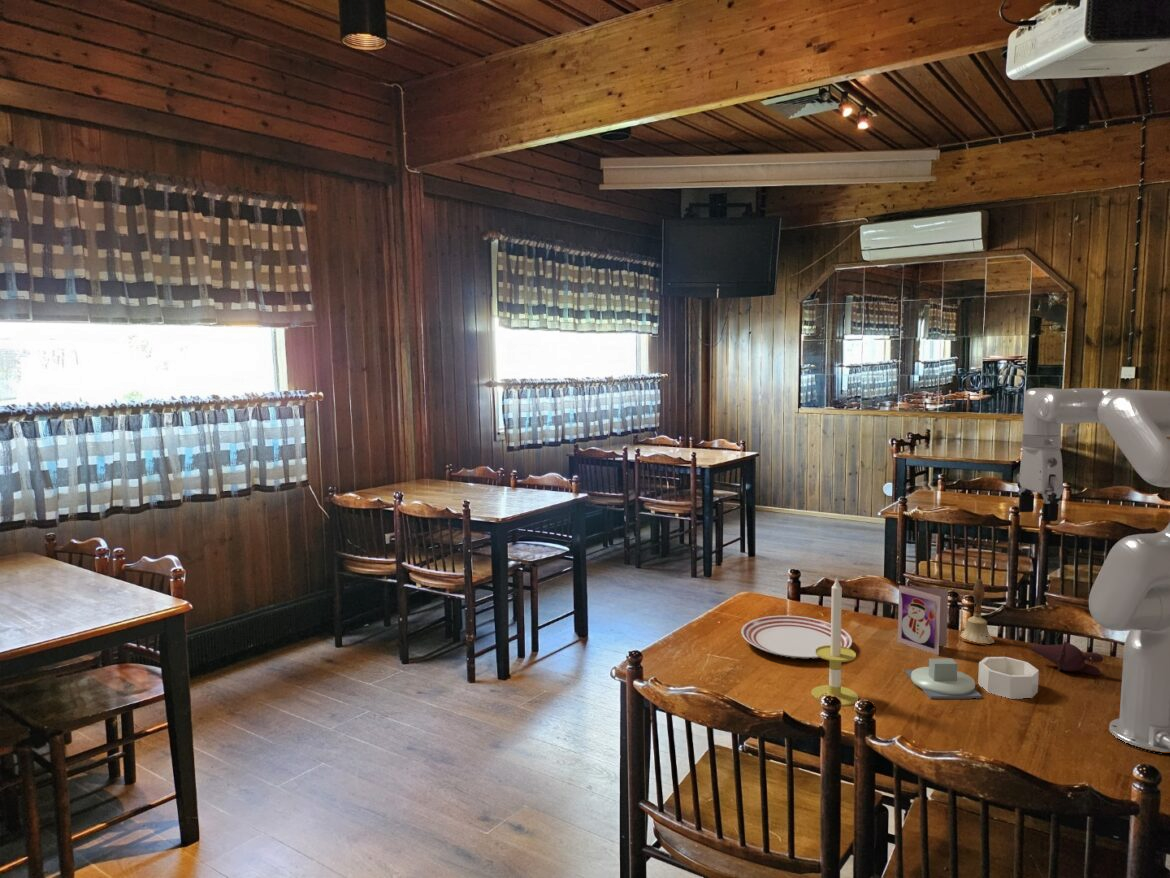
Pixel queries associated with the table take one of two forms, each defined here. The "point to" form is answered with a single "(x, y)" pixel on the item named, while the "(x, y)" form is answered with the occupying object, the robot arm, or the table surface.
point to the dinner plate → (791, 635)
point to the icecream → (1068, 657)
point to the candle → (836, 654)
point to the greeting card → (923, 617)
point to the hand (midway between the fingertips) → (1037, 516)
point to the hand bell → (977, 619)
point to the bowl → (1008, 677)
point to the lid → (943, 678)
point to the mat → (943, 696)
